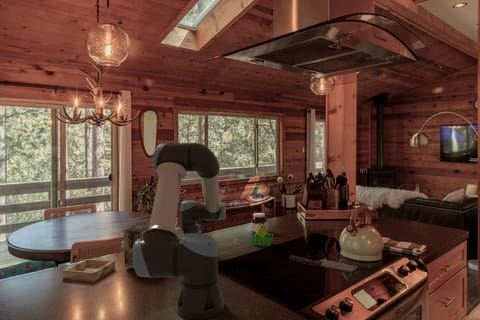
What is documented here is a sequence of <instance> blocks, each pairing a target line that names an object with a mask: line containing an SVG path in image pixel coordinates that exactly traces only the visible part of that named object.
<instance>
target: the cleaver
mask: <svg viewBox="0 0 480 320" xmlns="http://www.w3.org/2000/svg"><path fill="white" fill-rule="evenodd" d="M289 260H290V261H292V262H295V263H300V264H303V265H308V266H312V267H318V268H320V267H321V268H326V269H331V270H334V271H335V270H336V271H340V272H345V273H354V271H356V270H357V269H358V268H359V266H356V265H351V264H349V263H343V262H339V261H338V262H337V261H334V260H327V259H319V260H313V259H310V258H306V257H300V256H297V255H293V254H291V255H289Z"/></svg>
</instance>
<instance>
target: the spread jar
mask: <svg viewBox="0 0 480 320" xmlns="http://www.w3.org/2000/svg"><path fill="white" fill-rule="evenodd" d="M252 215H253V217H252V218H251V220H250V231H251V233H252V234H253V233H257V230H258V228H259V226H261V225H264V226H265V228H266V229H267V230H268V229H269V228H268V227H269V226H268V225H269V224H268V222H269V221H268V219H267V218H266V216H265V213H264V212H254V213H253V214H252Z"/></svg>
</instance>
